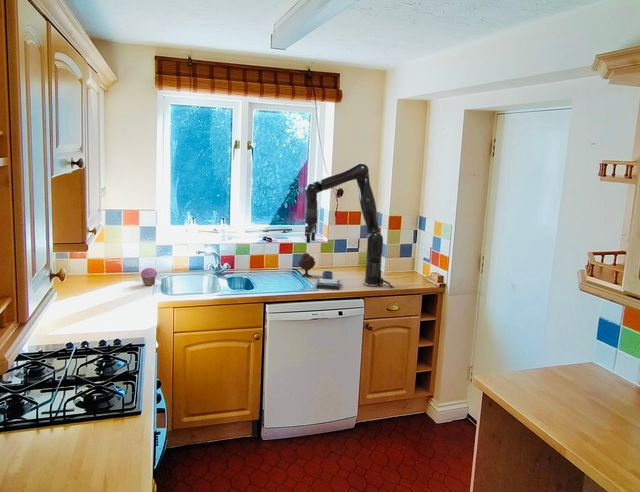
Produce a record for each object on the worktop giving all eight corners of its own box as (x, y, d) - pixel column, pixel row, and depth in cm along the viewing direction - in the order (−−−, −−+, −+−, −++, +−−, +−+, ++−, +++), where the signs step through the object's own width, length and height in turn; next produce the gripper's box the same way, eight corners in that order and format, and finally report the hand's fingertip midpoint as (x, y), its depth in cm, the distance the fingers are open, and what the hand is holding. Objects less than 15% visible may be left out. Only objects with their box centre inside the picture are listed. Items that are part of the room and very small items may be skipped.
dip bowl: (332, 279, 296) (332, 271, 296) (332, 282, 290) (332, 273, 289) (322, 278, 297) (323, 270, 296) (322, 281, 291) (322, 273, 290)
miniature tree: (295, 277, 299) (296, 254, 297) (301, 273, 309) (301, 251, 307) (311, 278, 296) (312, 255, 294) (316, 275, 306) (317, 252, 304)
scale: (339, 283, 286) (339, 279, 286) (338, 289, 274) (338, 284, 273) (318, 282, 288) (318, 278, 287) (316, 288, 275) (316, 283, 274)
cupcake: (160, 284, 272) (159, 267, 271) (150, 287, 264) (150, 270, 263) (147, 282, 275) (147, 265, 274) (137, 285, 267) (137, 268, 266)
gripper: (313, 217, 278) (312, 244, 281) (320, 215, 292) (320, 240, 294) (301, 216, 281) (300, 243, 283) (309, 214, 294) (308, 239, 296)
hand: (310, 241), depth 288 cm, fingers open, 8 cm apart
